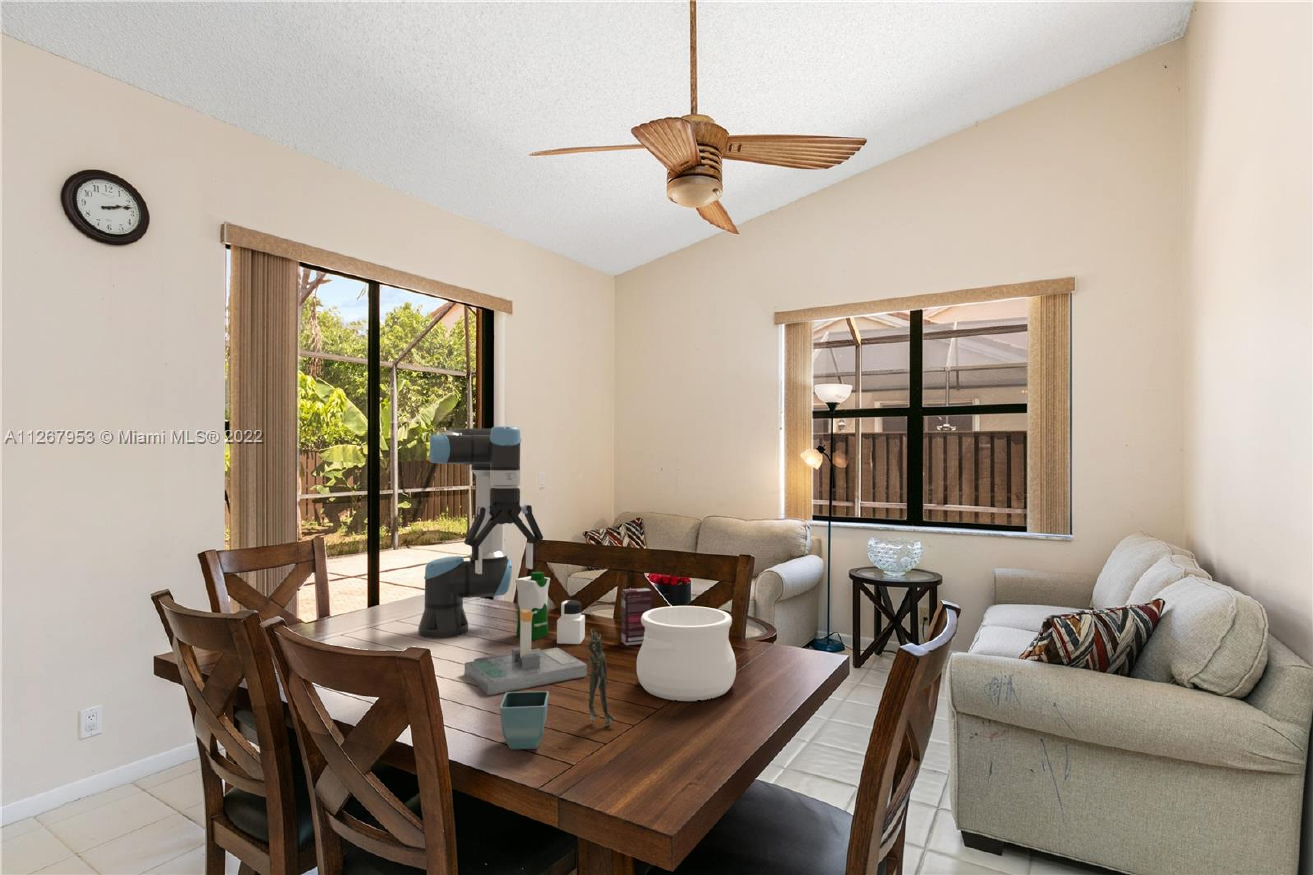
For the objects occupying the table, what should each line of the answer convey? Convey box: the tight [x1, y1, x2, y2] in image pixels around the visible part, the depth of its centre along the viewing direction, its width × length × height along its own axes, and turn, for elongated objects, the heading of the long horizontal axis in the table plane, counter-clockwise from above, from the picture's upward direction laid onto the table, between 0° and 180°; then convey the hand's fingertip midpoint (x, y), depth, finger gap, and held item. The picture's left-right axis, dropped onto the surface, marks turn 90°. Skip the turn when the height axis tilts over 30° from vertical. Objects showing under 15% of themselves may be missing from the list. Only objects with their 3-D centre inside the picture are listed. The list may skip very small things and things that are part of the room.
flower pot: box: [499, 690, 550, 750], centre depth 136 cm, size 9×9×9 cm
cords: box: [473, 648, 542, 661], centre depth 187 cm, size 5×21×3 cm, turn 123°
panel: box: [464, 647, 588, 696], centre depth 178 cm, size 18×26×6 cm
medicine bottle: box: [556, 599, 586, 645], centre depth 210 cm, size 7×7×12 cm
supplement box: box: [620, 587, 653, 646], centre depth 209 cm, size 9×5×16 cm, turn 110°
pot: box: [635, 605, 737, 702], centre depth 170 cm, size 26×24×18 cm
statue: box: [588, 628, 617, 727], centre depth 145 cm, size 5×6×20 cm
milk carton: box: [514, 570, 551, 641], centre depth 215 cm, size 9×9×20 cm
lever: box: [519, 609, 532, 659], centre depth 178 cm, size 4×2×13 cm, turn 33°
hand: (504, 570), depth 176 cm, fingers open, 13 cm apart
